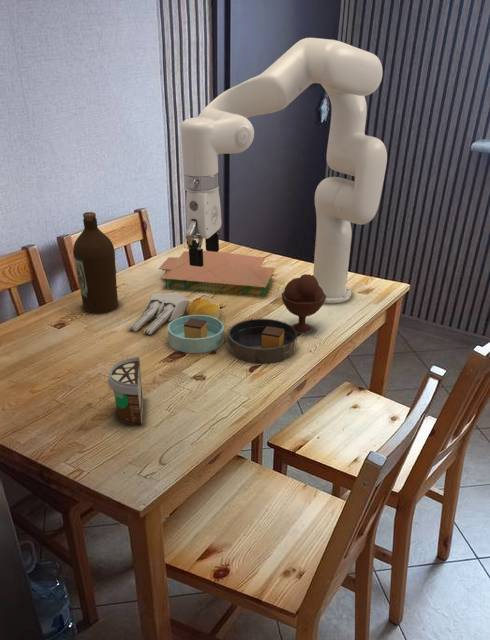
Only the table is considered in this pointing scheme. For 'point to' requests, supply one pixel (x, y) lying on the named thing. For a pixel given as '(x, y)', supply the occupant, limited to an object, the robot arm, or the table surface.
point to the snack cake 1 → (195, 328)
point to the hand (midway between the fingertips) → (204, 258)
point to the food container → (127, 390)
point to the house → (219, 271)
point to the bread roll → (204, 308)
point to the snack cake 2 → (272, 337)
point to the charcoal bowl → (260, 341)
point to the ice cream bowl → (303, 299)
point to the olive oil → (95, 267)
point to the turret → (161, 310)
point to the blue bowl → (200, 344)
